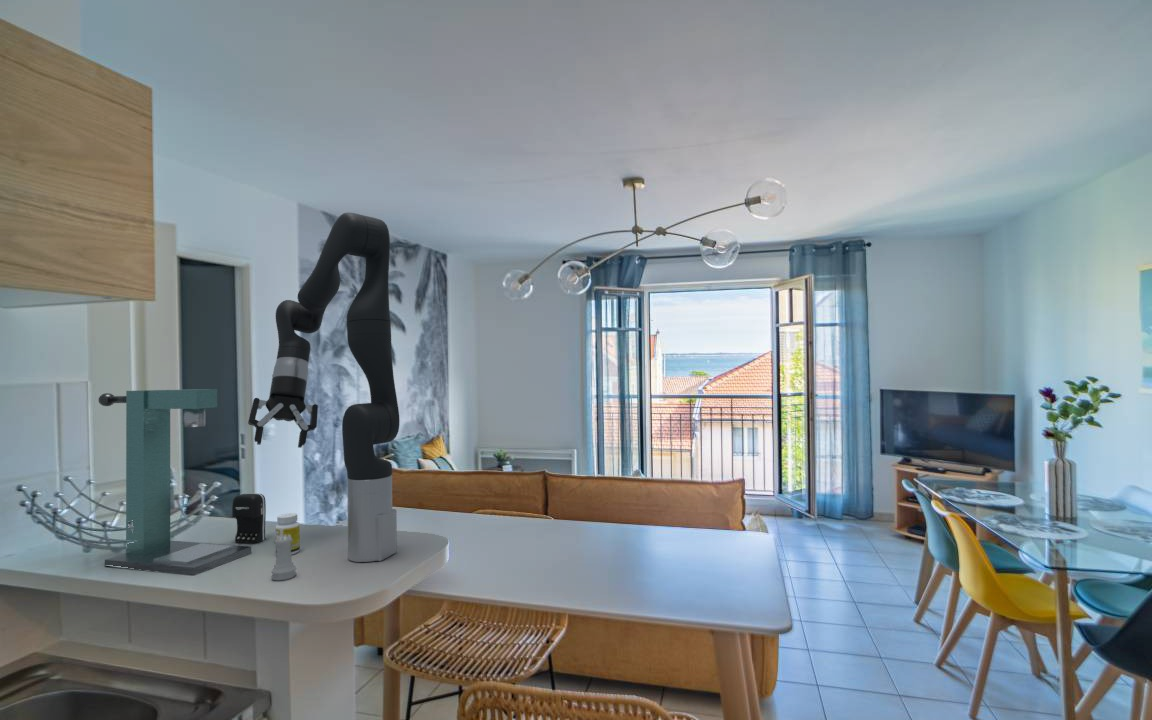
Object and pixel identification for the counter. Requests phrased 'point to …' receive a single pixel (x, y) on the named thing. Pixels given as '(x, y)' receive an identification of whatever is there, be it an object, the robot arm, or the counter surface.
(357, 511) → the robot arm
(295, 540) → the supplement bottle
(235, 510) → the battery
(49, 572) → the counter surface
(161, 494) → the arbor press
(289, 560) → the rook chess piece
